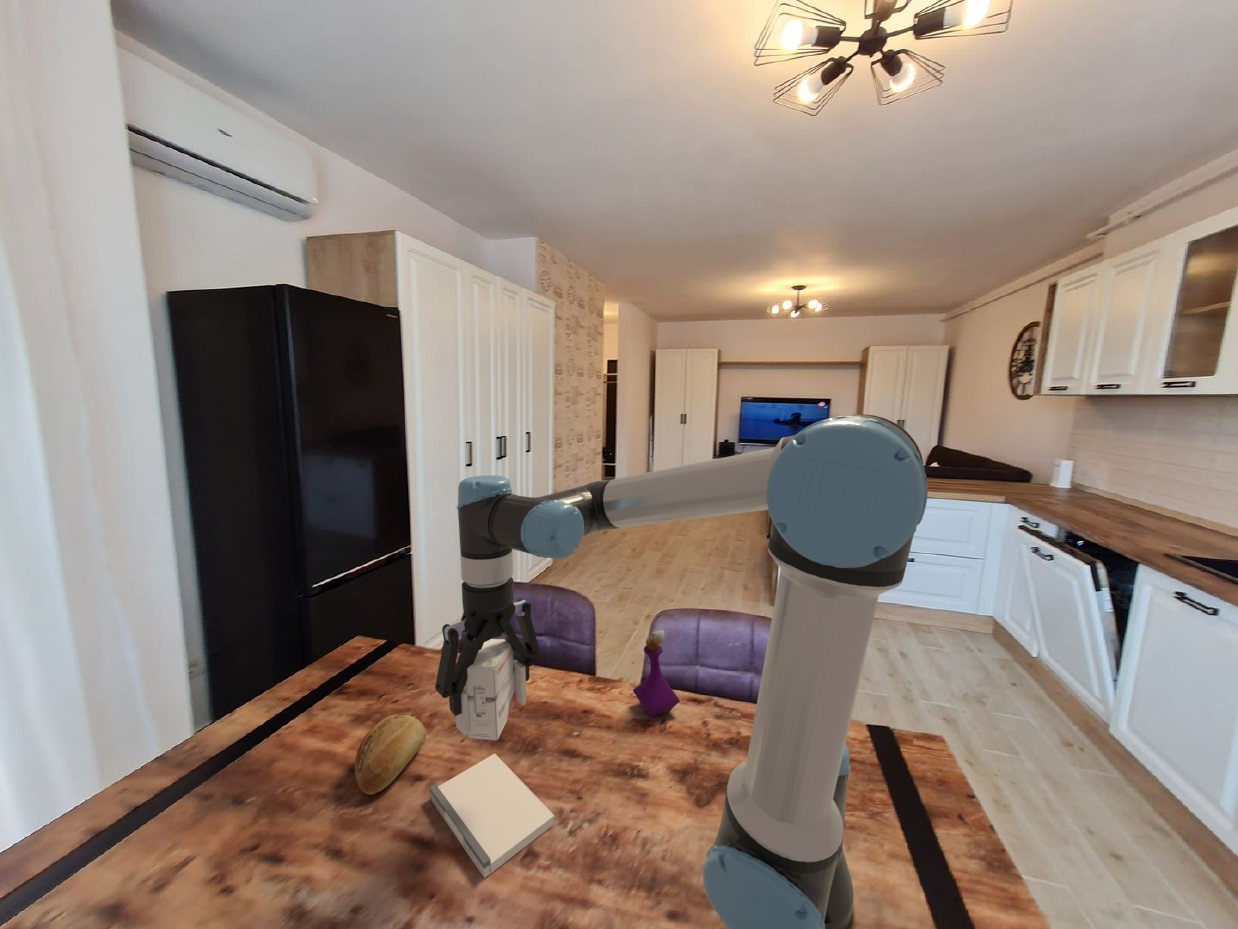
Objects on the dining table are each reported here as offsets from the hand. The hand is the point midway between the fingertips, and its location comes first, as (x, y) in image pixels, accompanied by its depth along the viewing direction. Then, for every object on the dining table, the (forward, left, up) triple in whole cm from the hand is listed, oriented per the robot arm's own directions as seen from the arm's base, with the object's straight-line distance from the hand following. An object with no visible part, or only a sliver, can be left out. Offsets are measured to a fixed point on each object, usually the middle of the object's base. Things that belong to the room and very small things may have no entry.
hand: (492, 714), depth 74 cm
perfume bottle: (-2, -37, -17) cm, 41 cm away
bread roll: (+21, +9, -17) cm, 28 cm away
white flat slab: (0, +1, -17) cm, 17 cm away
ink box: (0, 0, -1) cm, 1 cm away
